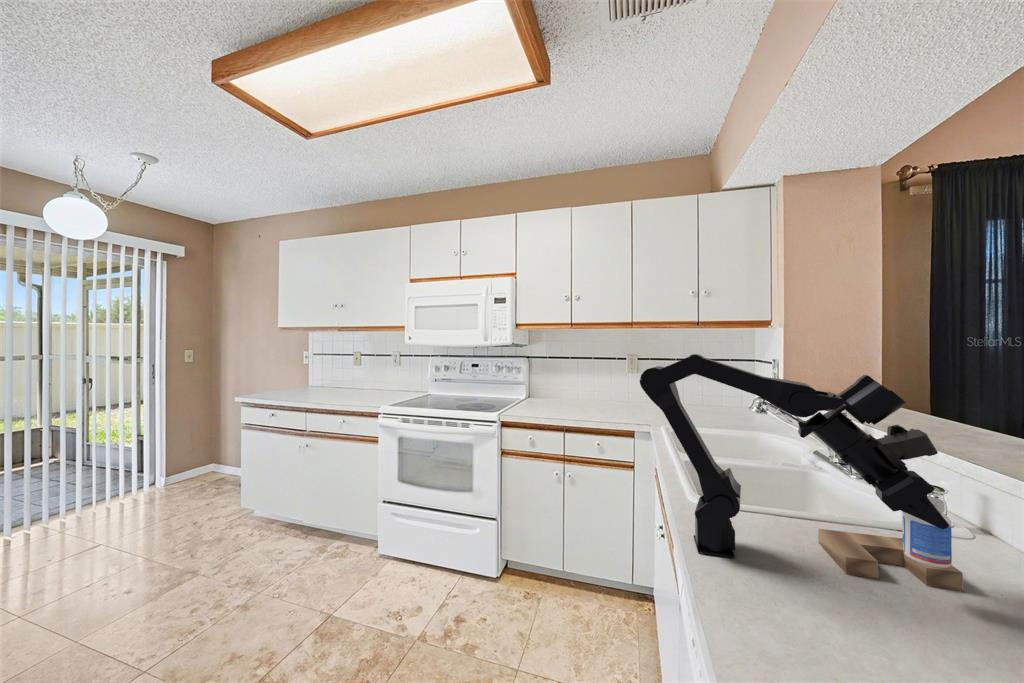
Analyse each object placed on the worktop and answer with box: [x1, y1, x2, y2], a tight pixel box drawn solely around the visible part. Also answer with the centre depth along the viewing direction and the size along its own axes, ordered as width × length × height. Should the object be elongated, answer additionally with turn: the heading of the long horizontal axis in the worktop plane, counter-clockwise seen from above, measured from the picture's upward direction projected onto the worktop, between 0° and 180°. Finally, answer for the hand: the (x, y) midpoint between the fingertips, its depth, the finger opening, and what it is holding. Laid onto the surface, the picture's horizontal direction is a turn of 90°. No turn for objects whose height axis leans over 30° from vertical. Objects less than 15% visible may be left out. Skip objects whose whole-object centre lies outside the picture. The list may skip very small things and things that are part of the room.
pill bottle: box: [901, 495, 953, 568], centre depth 62 cm, size 6×5×10 cm
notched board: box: [817, 528, 964, 592], centre depth 72 cm, size 16×11×3 cm
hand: (938, 520), depth 61 cm, fingers closed on pill bottle, 5 cm apart
